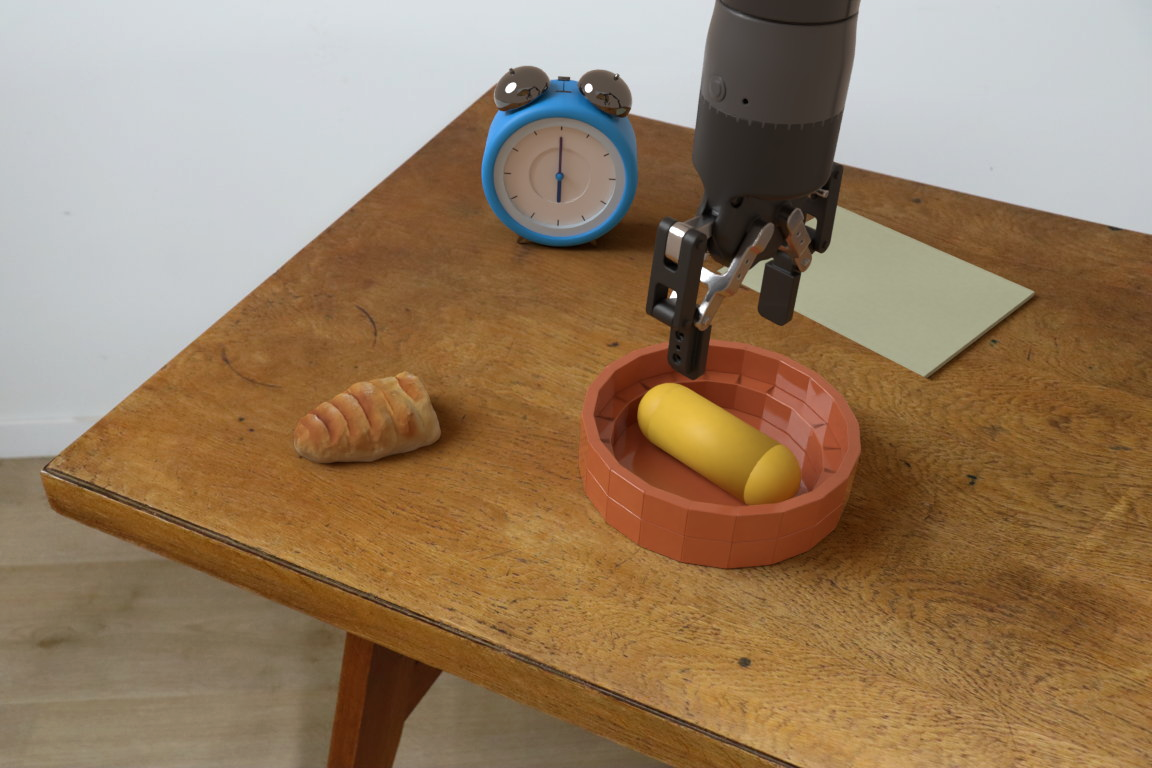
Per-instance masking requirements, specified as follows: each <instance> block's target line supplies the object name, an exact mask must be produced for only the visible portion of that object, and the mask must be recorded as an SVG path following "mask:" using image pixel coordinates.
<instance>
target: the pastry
mask: <svg viewBox="0 0 1152 768" xmlns="http://www.w3.org/2000/svg"><path fill="white" fill-rule="evenodd" d="M440 427H441V426H440V423H439V419H438V416H437V412H436V411H435V409H434V407H433V404H432V401H431V397H430V395H429V392H428V390H427V388H426V387H425V384H424V383H423V382H422V380H421V378H420V377H419V376H418V375H415V374H414V373H412V372H410V371H408V370H407V371H406V370H404V371H402V372H400V373H397V374H396V375H395V376H387V377H384V378H373V379H370V380H368V381H367V380H366V381H359V382H356V383H353V384H351V385H350V387H348V389H345V390H344V391H343V392H339V393H338V394H337V395H335V396H334V397H333V398H331V400H326V401H324V402H322V403H320V404H319V405H318V406H317V407H315V408H313V409H311V410H310V411H309V412H308V413H307V414H306V415H304V416H303V417H301V418H300V419H299V420H298V423H297V425H296V427H295V430H294V435H293V440H294V441H293V444H294V448H295V450H296V452H297V453H298V454H299V455H300V456H302V457H303V458H305V459H307V460H308V461H310V462H313V463H317V464H333V463H337V462H338V463H339V462H340V463H353V462H359V463H360V462H361V463H362V462H363V463H365V462H367V463H369V462H374V461H377V460H381V459H383V458H387V457H389V456H393V455H398V454H405V453H409V452H412V451H415V450H417V449H420V448H422V447H427V446H432V445H433V444H435V443H436V442H437V441H438V440H439V439H440V437H441V435H442V432H441V428H440Z"/></svg>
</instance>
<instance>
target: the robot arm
mask: <svg viewBox="0 0 1152 768" xmlns="http://www.w3.org/2000/svg"><path fill="white" fill-rule="evenodd" d="M861 1H862V0H715V2H714V7H713V10H712V15H711V18H710V22H709V26H708V30H707V34H706V39H705V46H704V52H703V59H702V60H703V62H702V69H701V77H700V85H699V94H698V101H697V102H698V103H697V111H696V118H695V119H696V120H695V125H694V128H695V129H694V134H693V135H694V136H693V142H692V143H693V144H692V152H691V160H692V161H691V162H692V165H693V168H694V169H695V171H696V174H697V175H698V176H699V178H700V181H701V183H702V186H703V194H702V198H701V200H700V204H699V206H698V208H697V210H696V213H695V216H694V217H692V218H689V219H686V220H685V221H680V220H678V219H676V218H674V217H672V216H669V215H667V216H665V217H663V218H662V219H661V221H660V222H659V224H658V225H657V229H656V236H655V243H654V249H653V256H652V263H651V270H650V276H649V284H648V290H647V297H646V302H645V303H646V304H645V314H646V315H648V316H650V317H652V318H654V319H655V320H657V321H659V322H660V323H662V324H664V325H666V326H667V327H669V328H670V330H669V331H670V332H669V338H668V341H669V346H668V350H669V351H668V354H667V361H668V364H669V365H670V366H671V367H672V369H674V370H675V371H677V372H679V373H680V374H682V375H684V376H685V377H687V378H689V379H691V380H696V379H697V378H699V377H701V376H702V375H704V373H705V369H706V362H707V356H708V349H709V342H710V339H711V335H712V327H713V325H712V324H711V323H712V322H713V320H714V319H715V316H716V314H717V313H718V311H719V310H720V307H721V305H722V303H723V302H724V300H725V298H727V297H733V296H735V295H736V294H737V292H738V290H739V289H740V287H741V285H742V284H741V283H742V281H743V280H744V278H745V276H746V274H747V272H748V270H750V269H752V268H753V267H754V266H755V265H756V264H757V263H759V262H760V261H763V260H768V259H770V258H773V260H770V261H768V262H767V263H765V268H764V273H763V279H762V285H761V291H760V293H759V297H758V303H757V312H758V314H759V315H760V316H761V317H762V318H763V319H765V320H768V321H770V322H771V323H773V324H775V325H776V326H779V327H783V326H785V325H786V324H788V323H790V322H792V320H793V317H794V312H795V311H794V307H795V303H796V298H797V293H798V288H799V283H800V278H801V273H802V272H805V271H806V270H807V269H808V268H809V266H810V264H811V261H812V254H813V253H814V252H815V251H816V252H819V253H821V254H822V253H824V252H825V251H826V250H827V249H828V247H829V245H830V242H831V237H832V231H833V226H834V220H835V214H836V209H837V206H838V203H839V197H840V191H841V186H842V185H841V184H842V180H843V174H844V166H843V164H840V163H838V162H835V156H836V151H837V147H838V141H839V137H840V131H841V126H842V122H843V117H844V111H845V107H846V102H847V98H848V93H849V89H850V88H849V87H850V83H851V79H852V78H851V77H852V73H853V68H854V62H855V58H856V57H855V56H856V45H857V31H858V30H857V28H858V20H859V13H860V7H861ZM808 215H809V216H811V217H813V218H816V220H817V225H816V229H813V228H811V227H809V226H807V225H805V223H806V222H807V217H808ZM709 257H710V258H711V259H712V260H713V261H714V262H715V263H718V264H720V265H721V266H723V267H727V268H728V270H727V271H726V272H725V273H724V274H722V273H721V274H716V273H715V272H713V271H711V270H709V269H707V268H705V267H704V262H706V261H708V260H709ZM701 283H703V284H704V285H707V287H708V288H707V292H706V294H705V295H704V297H703V299H702V301H701V303H700V304H698V303H697V301H698V295H699V289H700V284H701ZM669 289H670V290H672V292H671V294H670V296H669V291H670V290H669ZM668 296H669V297H668Z"/></svg>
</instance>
